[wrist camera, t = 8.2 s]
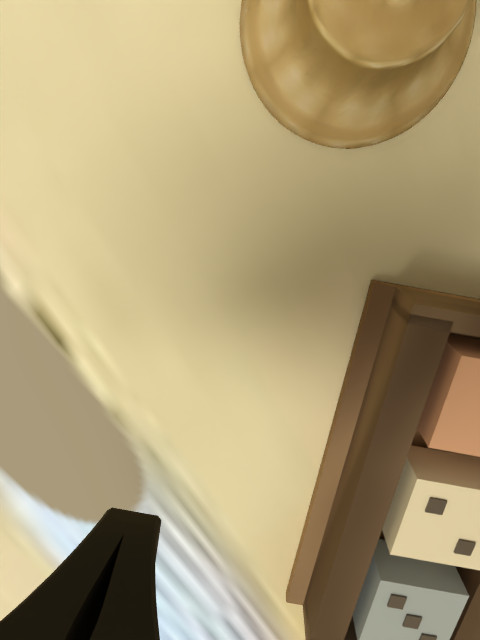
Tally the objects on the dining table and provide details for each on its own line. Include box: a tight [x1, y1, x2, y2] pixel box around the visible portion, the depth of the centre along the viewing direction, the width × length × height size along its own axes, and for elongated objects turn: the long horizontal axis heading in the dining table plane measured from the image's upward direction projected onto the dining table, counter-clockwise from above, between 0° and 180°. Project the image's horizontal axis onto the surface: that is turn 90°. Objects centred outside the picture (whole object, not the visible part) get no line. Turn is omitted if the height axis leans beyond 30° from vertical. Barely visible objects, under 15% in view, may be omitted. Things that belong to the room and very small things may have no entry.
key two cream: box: [382, 445, 480, 570], centre depth 20 cm, size 4×4×3 cm
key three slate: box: [353, 539, 469, 640], centre depth 22 cm, size 4×4×3 cm
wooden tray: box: [286, 280, 480, 640], centre depth 21 cm, size 10×18×3 cm, turn 170°
